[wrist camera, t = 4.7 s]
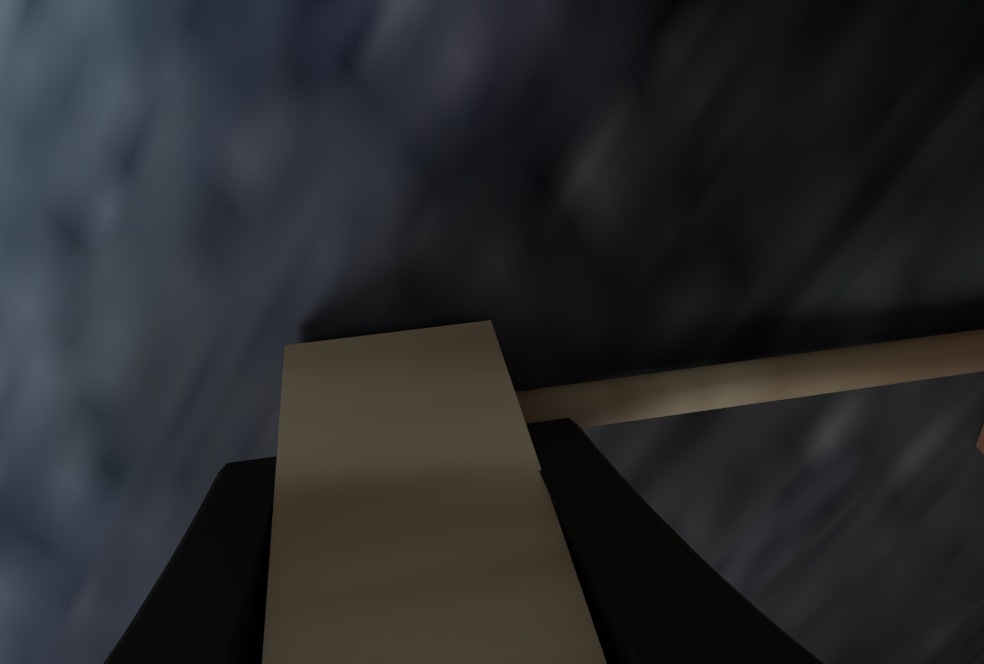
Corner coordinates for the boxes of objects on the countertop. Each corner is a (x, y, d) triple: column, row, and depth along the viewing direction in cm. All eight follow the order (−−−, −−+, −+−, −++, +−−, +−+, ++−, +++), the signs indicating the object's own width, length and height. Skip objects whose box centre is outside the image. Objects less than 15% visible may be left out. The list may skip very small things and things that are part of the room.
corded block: (1214, 409, 14) (1650, 697, 9) (325, 546, 12) (328, 992, 7) (1353, 157, 12) (2031, 378, 7) (271, 277, 10) (224, 694, 5)
